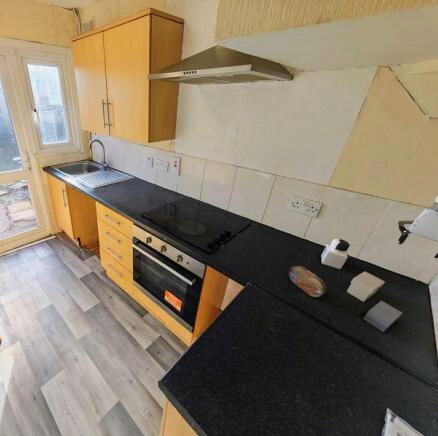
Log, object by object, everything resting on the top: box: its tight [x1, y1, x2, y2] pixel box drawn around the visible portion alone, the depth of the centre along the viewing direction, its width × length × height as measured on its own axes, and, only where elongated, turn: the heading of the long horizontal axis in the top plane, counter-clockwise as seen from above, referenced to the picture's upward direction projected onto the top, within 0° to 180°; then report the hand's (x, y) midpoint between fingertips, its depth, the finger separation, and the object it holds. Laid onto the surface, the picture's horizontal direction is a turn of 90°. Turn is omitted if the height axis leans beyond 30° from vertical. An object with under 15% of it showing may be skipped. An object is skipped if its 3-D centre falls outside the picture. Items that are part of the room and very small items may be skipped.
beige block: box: [346, 283, 379, 303], centre depth 96 cm, size 6×10×5 cm, turn 118°
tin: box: [288, 265, 327, 298], centre depth 96 cm, size 15×3×8 cm, turn 21°
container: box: [320, 238, 351, 270], centre depth 111 cm, size 8×8×13 cm
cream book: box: [350, 271, 386, 294], centre depth 94 cm, size 7×10×2 cm
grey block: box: [362, 300, 403, 333], centre depth 84 cm, size 6×10×5 cm, turn 118°
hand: (417, 249), depth 85 cm, fingers open, 9 cm apart
